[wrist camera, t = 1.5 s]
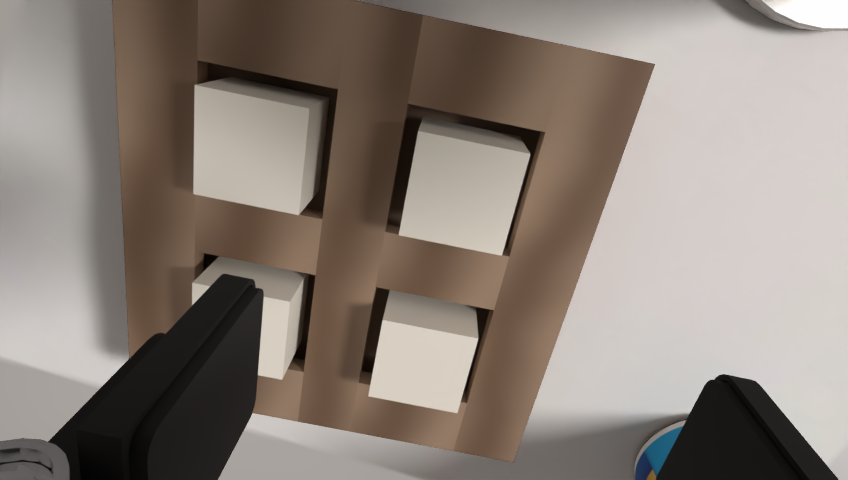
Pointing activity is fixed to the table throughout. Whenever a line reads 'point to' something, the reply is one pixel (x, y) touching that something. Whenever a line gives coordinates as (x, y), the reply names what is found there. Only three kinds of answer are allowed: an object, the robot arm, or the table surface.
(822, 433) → the table surface
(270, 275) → the button
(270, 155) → the button
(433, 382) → the button
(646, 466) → the beverage bottle
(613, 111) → the board
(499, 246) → the button
